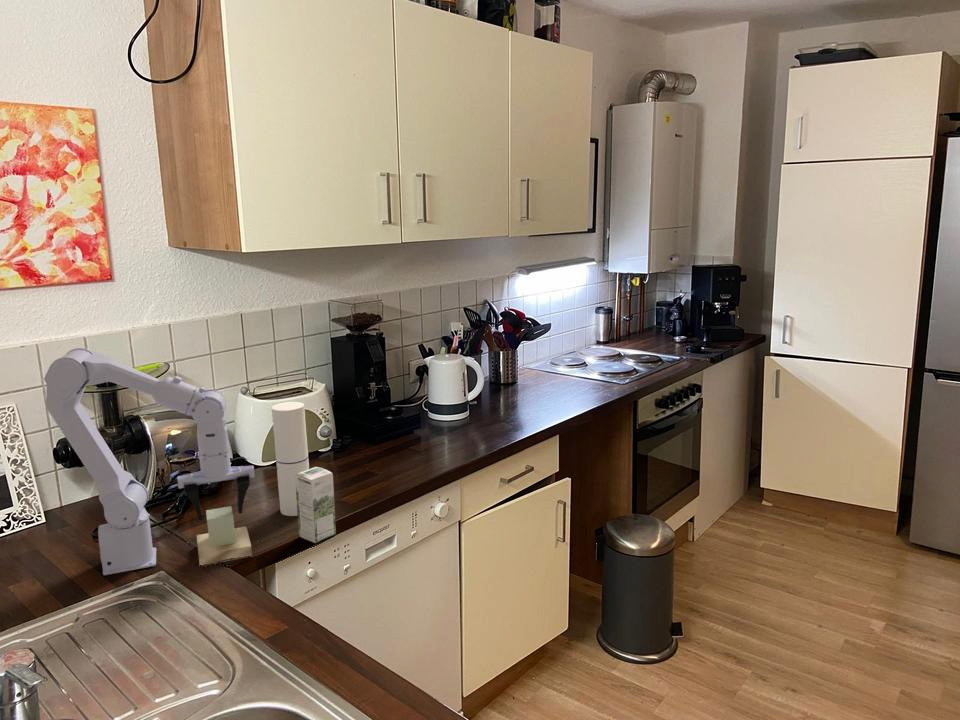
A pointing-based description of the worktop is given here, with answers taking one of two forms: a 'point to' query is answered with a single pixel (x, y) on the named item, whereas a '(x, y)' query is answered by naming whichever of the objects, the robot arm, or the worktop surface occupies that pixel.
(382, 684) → the worktop surface
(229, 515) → the sage block
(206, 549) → the birch base
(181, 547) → the worktop surface
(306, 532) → the syrup box
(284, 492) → the cylindrical container
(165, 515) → the worktop surface
